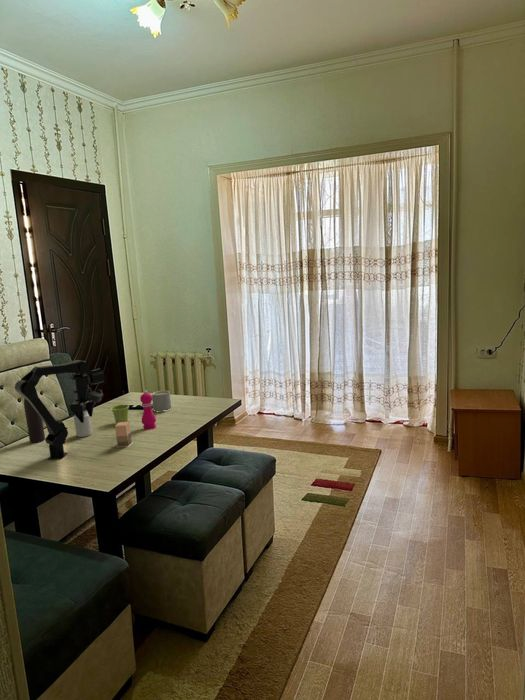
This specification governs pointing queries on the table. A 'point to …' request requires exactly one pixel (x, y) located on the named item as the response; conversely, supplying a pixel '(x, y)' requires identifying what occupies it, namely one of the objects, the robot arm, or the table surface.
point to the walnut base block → (124, 440)
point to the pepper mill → (147, 411)
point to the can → (83, 426)
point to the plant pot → (120, 413)
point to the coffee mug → (161, 400)
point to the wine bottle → (33, 423)
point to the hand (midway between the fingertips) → (86, 419)
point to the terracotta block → (122, 428)
